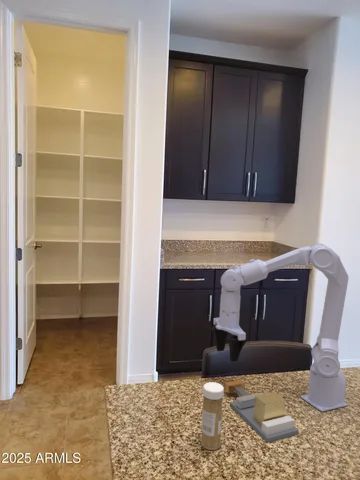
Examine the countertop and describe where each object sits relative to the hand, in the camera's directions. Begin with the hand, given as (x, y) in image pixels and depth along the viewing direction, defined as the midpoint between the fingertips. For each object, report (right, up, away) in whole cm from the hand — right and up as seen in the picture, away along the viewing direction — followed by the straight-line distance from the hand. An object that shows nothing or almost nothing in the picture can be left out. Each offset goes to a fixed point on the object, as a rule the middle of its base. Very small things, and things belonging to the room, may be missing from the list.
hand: (227, 355), depth 105 cm
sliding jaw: (+3, -9, -7) cm, 12 cm away
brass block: (+8, -10, -18) cm, 22 cm away
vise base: (+7, -11, -15) cm, 20 cm away
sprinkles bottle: (-7, -12, -26) cm, 29 cm away
